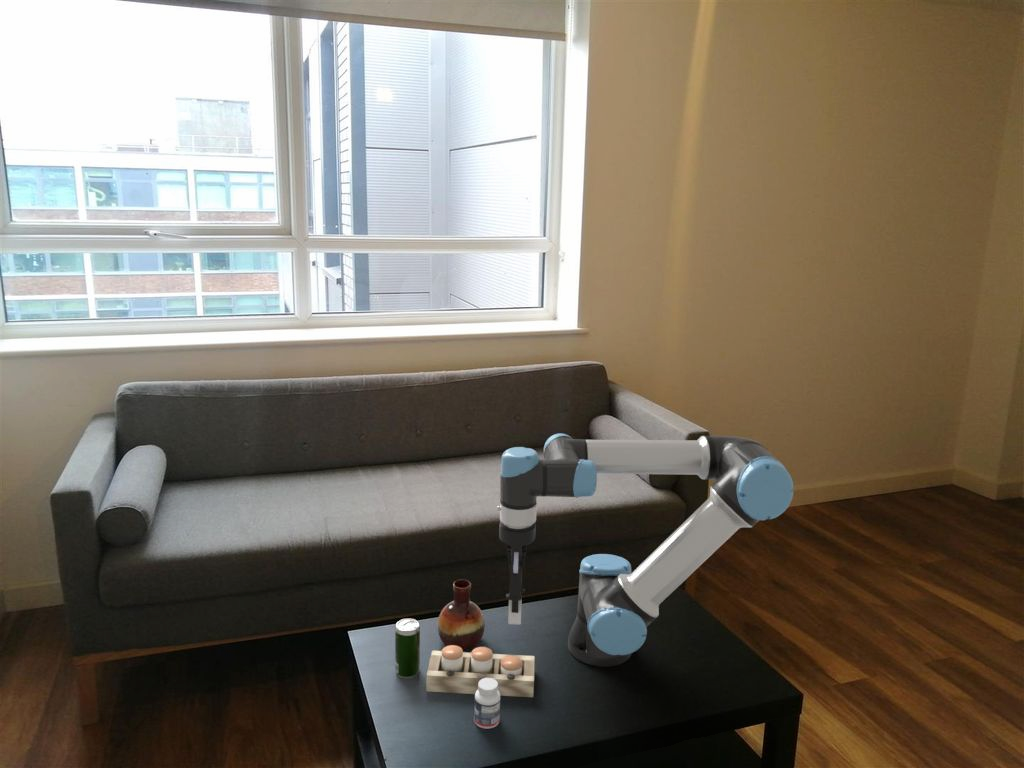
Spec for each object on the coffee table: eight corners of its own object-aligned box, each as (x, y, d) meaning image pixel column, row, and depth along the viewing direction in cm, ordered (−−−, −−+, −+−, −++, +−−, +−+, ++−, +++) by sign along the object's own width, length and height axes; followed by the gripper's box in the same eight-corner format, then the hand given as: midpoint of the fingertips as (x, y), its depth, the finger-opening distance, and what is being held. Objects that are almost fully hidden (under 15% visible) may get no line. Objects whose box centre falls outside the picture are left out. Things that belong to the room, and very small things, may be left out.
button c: (463, 663, 177) (463, 645, 176) (461, 676, 173) (461, 658, 171) (442, 662, 177) (443, 644, 176) (440, 675, 173) (440, 657, 172)
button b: (492, 665, 177) (493, 647, 176) (491, 678, 172) (491, 659, 171) (472, 664, 177) (472, 646, 176) (470, 676, 173) (470, 658, 171)
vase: (455, 661, 182) (456, 601, 178) (428, 638, 190) (428, 580, 186) (493, 644, 189) (495, 586, 185) (466, 623, 197) (467, 567, 193)
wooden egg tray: (533, 671, 179) (534, 655, 178) (533, 697, 171) (534, 680, 170) (431, 665, 180) (432, 649, 179) (426, 691, 171) (426, 674, 170)
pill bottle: (473, 712, 165) (474, 675, 163) (498, 711, 166) (500, 675, 164) (474, 730, 160) (475, 692, 158) (500, 729, 161) (501, 691, 158)
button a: (521, 674, 177) (522, 656, 176) (521, 687, 173) (521, 669, 172) (500, 672, 177) (501, 655, 176) (499, 686, 173) (500, 667, 172)
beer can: (401, 682, 174) (401, 634, 171) (391, 669, 178) (391, 622, 175) (423, 674, 177) (424, 627, 174) (413, 662, 181) (413, 615, 178)
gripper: (501, 507, 171) (498, 605, 178) (497, 535, 159) (495, 639, 165) (536, 509, 171) (532, 606, 177) (535, 536, 159) (531, 640, 165)
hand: (514, 622), depth 171 cm, fingers closed
